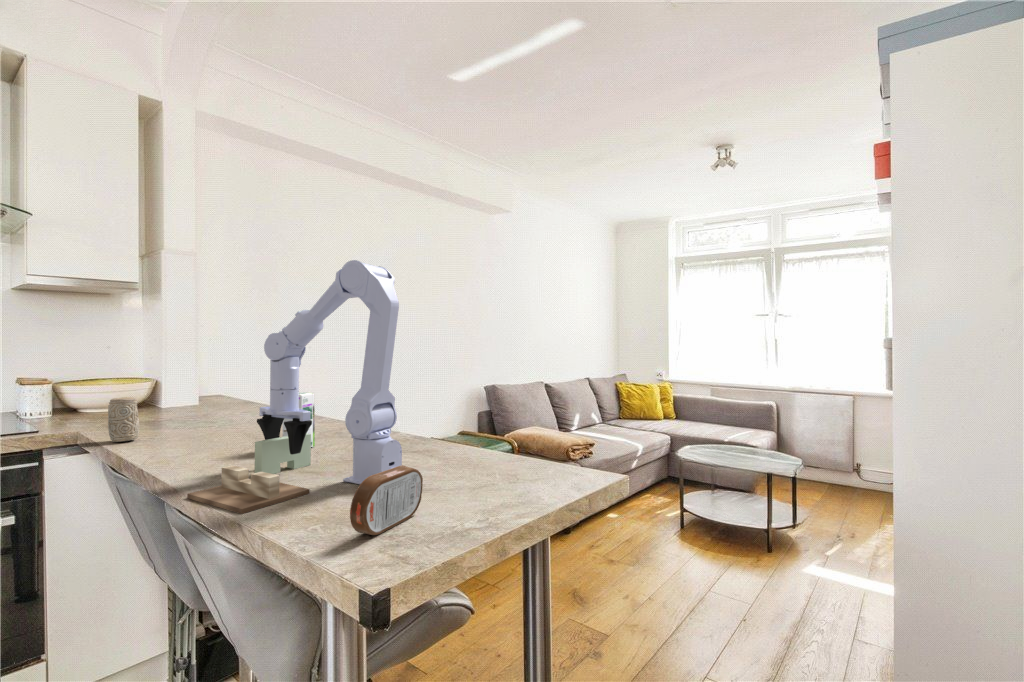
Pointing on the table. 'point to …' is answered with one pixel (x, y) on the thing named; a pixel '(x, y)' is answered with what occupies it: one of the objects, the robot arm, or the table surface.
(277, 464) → the sage plate
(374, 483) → the tin
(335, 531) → the table surface
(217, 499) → the slotted base
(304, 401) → the syrup box
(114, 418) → the carving
